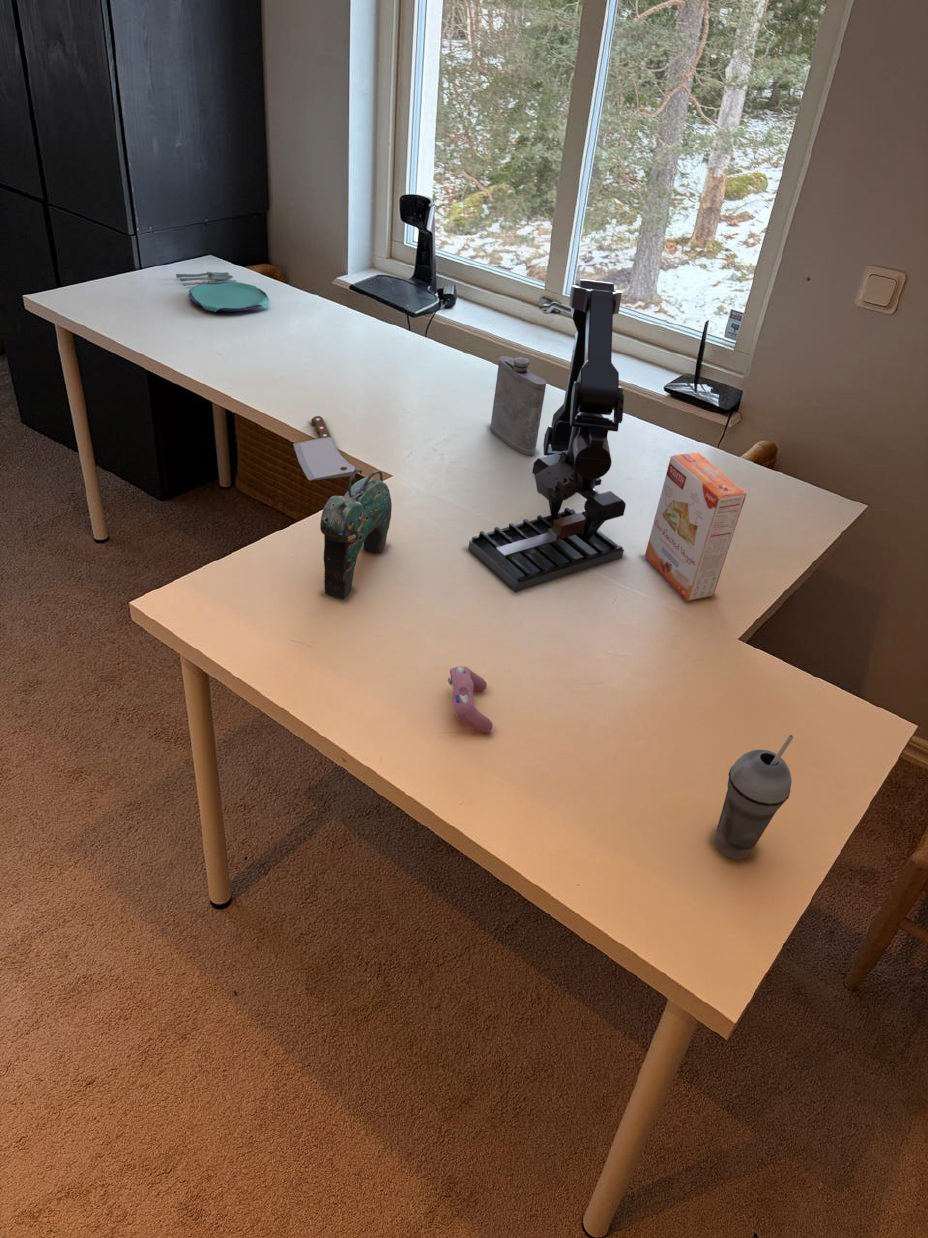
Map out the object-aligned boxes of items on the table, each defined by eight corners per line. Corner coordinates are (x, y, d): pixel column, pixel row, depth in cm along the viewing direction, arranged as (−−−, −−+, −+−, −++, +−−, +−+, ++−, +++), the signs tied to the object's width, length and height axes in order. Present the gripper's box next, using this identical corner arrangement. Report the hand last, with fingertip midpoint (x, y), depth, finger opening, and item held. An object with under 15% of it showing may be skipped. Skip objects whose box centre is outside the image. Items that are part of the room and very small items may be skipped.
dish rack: (573, 519, 178) (575, 504, 176) (622, 558, 169) (626, 543, 168) (467, 549, 166) (469, 534, 164) (515, 592, 158) (517, 577, 156)
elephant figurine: (345, 607, 150) (349, 498, 137) (308, 596, 151) (309, 486, 139) (396, 546, 165) (403, 443, 153) (362, 536, 166) (367, 433, 154)
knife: (589, 521, 172) (592, 508, 170) (598, 528, 170) (601, 515, 169) (495, 549, 162) (497, 535, 160) (504, 556, 160) (506, 542, 158)
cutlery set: (203, 320, 236) (202, 310, 235) (168, 279, 256) (167, 270, 254) (279, 313, 245) (279, 304, 243) (239, 274, 265) (239, 265, 263)
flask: (523, 456, 196) (536, 374, 185) (484, 427, 205) (494, 347, 194) (537, 453, 198) (551, 372, 187) (498, 424, 207) (509, 344, 196)
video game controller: (459, 694, 138) (441, 661, 134) (488, 684, 138) (471, 651, 134) (464, 743, 131) (446, 709, 127) (495, 732, 130) (478, 698, 126)
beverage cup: (716, 813, 123) (762, 700, 111) (769, 842, 120) (822, 728, 108) (694, 848, 118) (739, 733, 106) (749, 878, 115) (801, 764, 103)
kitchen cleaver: (283, 418, 196) (331, 414, 199) (283, 423, 197) (331, 418, 200) (305, 478, 179) (357, 472, 182) (306, 483, 179) (357, 477, 182)
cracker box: (641, 557, 170) (669, 453, 158) (669, 553, 172) (699, 450, 160) (685, 603, 160) (718, 495, 148) (714, 597, 163) (749, 491, 150)
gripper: (513, 433, 160) (502, 512, 169) (584, 485, 148) (567, 567, 158) (564, 422, 166) (550, 499, 175) (636, 471, 154) (616, 551, 163)
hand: (569, 528), depth 168 cm, fingers open, 8 cm apart
